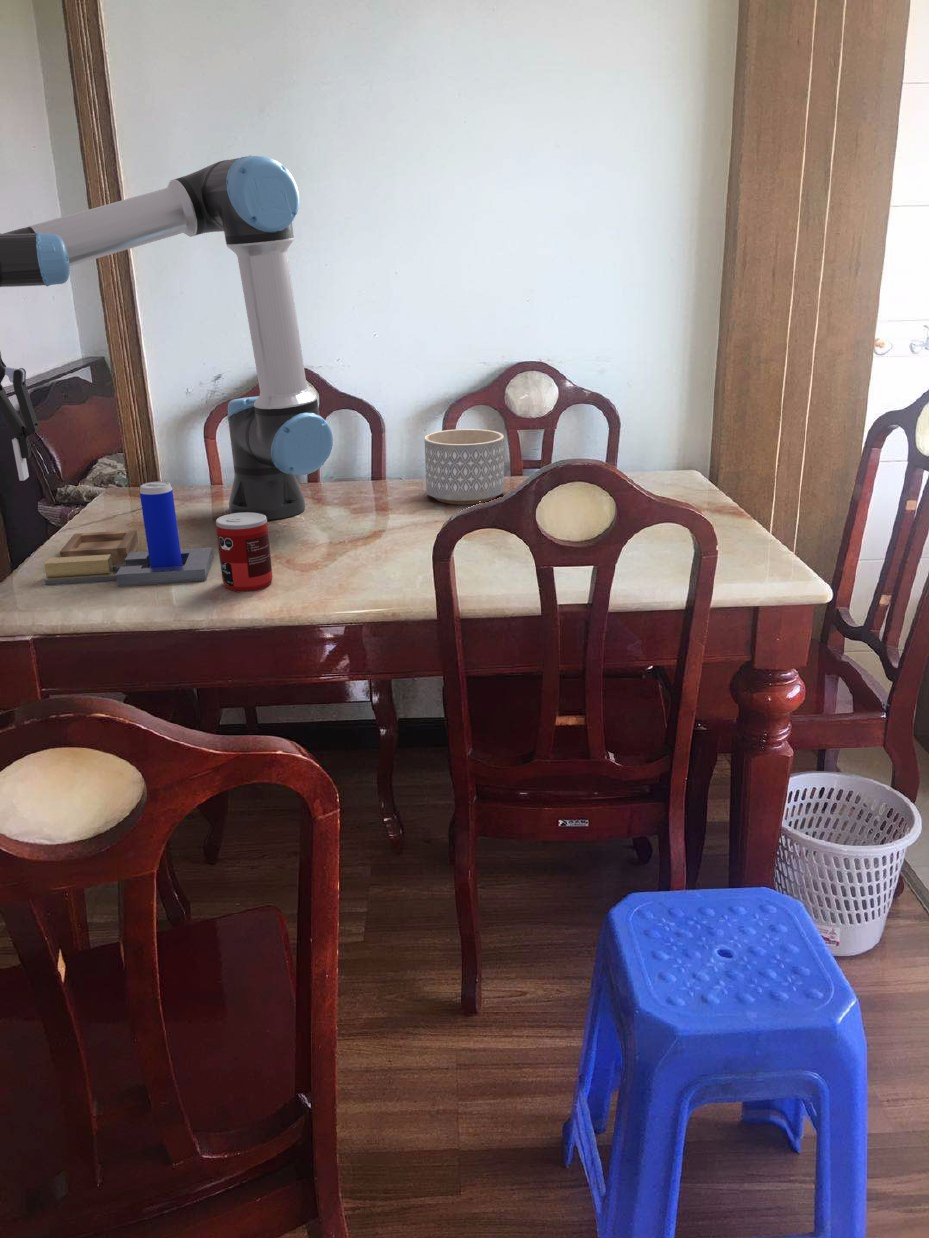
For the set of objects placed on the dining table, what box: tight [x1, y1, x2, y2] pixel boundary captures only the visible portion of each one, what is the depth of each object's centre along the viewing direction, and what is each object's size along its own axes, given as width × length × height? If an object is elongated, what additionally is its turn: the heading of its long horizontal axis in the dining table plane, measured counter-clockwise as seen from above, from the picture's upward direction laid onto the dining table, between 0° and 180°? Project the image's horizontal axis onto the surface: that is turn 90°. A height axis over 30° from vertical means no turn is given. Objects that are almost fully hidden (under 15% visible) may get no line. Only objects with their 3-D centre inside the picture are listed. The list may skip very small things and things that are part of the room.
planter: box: [423, 428, 505, 505], centre depth 208 cm, size 16×16×13 cm
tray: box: [59, 529, 140, 565], centre depth 177 cm, size 11×11×3 cm
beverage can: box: [139, 480, 183, 568], centre depth 165 cm, size 5×5×15 cm
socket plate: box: [44, 547, 214, 587], centre depth 167 cm, size 26×12×2 cm, turn 98°
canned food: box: [215, 512, 273, 593], centre depth 159 cm, size 8×8×11 cm
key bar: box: [43, 554, 114, 578], centre depth 165 cm, size 10×3×3 cm, turn 98°
